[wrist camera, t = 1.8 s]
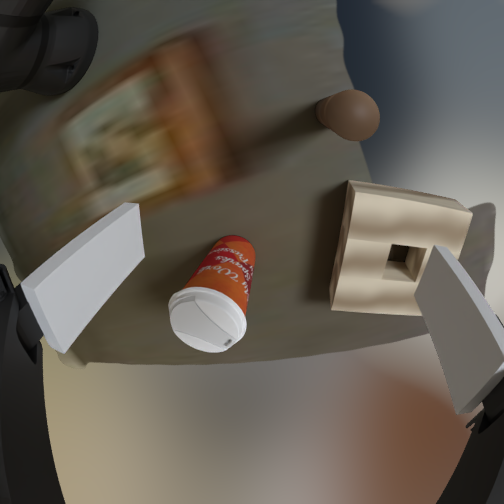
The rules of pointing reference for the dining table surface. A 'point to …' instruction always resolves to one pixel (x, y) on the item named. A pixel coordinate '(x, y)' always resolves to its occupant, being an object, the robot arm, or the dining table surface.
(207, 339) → the coffee cup
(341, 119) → the walnut peg
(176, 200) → the dining table surface
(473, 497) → the robot arm
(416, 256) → the maple block
